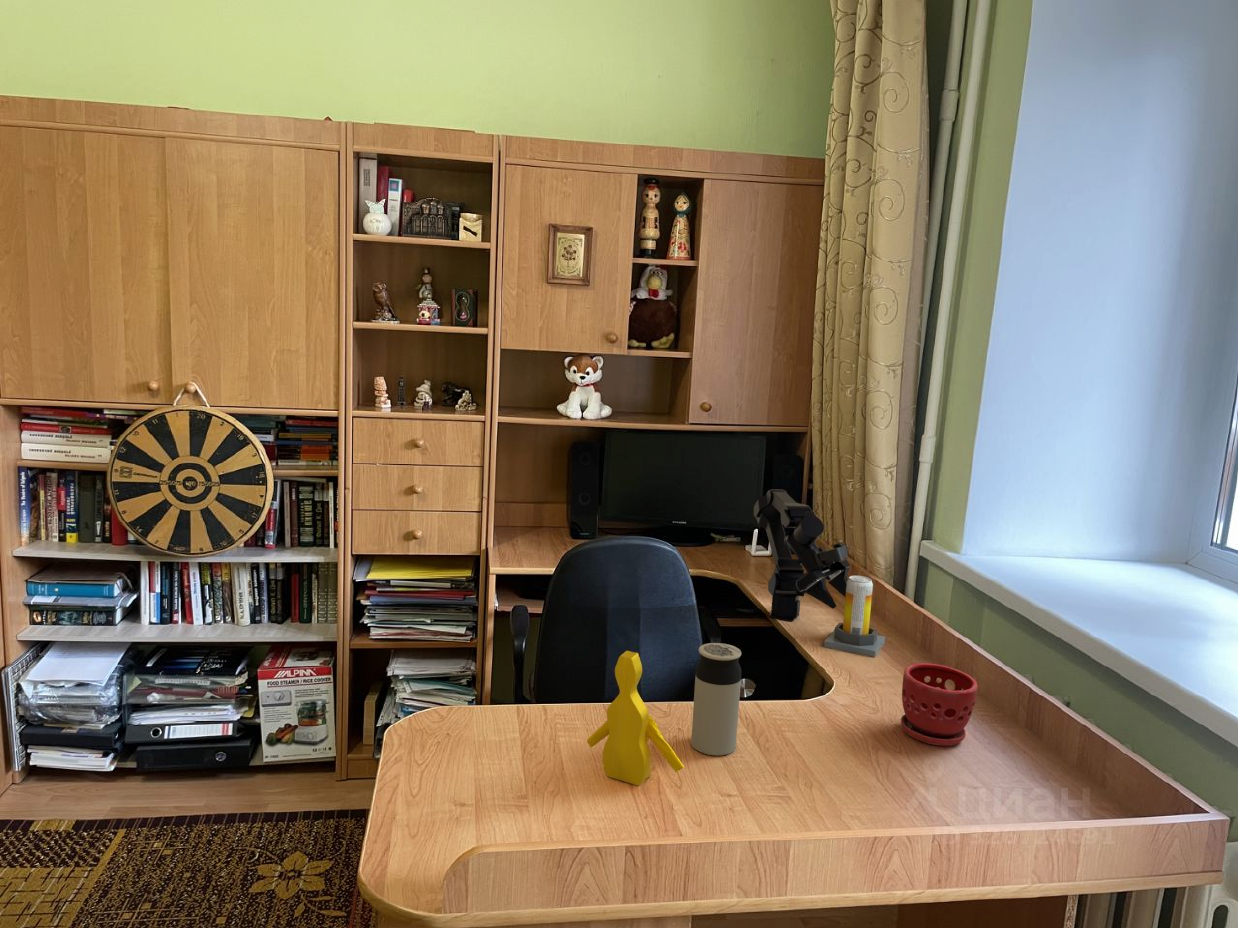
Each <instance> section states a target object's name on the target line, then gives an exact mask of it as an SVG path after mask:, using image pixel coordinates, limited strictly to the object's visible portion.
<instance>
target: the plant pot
mask: <svg viewBox="0 0 1238 928" xmlns="http://www.w3.org/2000/svg"><path fill="white" fill-rule="evenodd" d="M926 677H930V680H928V681H926V680H925V678H926ZM937 679H940V680H941V681H940V682H938V681H937ZM948 680H950V681H952V682H953V683H954V689H953V690H950V689H949V688H947V686H946V682H947V681H948ZM901 685H902V688H901V702H902V709H903V711H904V714H903V715H902V716H901V717H900V718H901V719H900V725H901V726H902V729H903V730H904V732H906V734H907V735H909V736H910V737H911V738H913V739H916V740H918V741H919V742H922V743H927V744H929V745H933V746H935V745H936V746H942V747H943V746H946V747H947V746H953V745H957V744H959V743H961V742H962V741H964V739H965V738H966V734H967V733H966V730H965V729H966V726H967V724H968V723H969V721H970V719H971V717H972V713H973V711H974V708H975V705H976V701H977V696H978V695H977V694H978V686H979V685H978V683H977V681H976V680H975V678H974V677H972V676H971V675H969V674H968V673H966V672H964V671H961V670H959V669H957V668H953V667H950V666H947V665H942V664H935V663H927V662H922V663H921V662H920V663H914V664H910V665H909V666H907V667H905V669H904V671H903V677H902V684H901ZM962 689H963V690H962Z"/></svg>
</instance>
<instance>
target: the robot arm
mask: <svg viewBox="0 0 1238 928" xmlns="http://www.w3.org/2000/svg"><path fill="white" fill-rule="evenodd" d="M753 516H754V518H755V519H756V522H757V524H758V525H759V527H761V528H762V529H764V530H765V532H766V535H767V539H768V543H769V547H770V549H771V553H772V557H773V561H774V564H775V565H774V568H773V572H772V575H771V577H770V579H769V580H768V582H767V592H768V593H769V594H770V595H771V597H772V598H771V608H770V609H771V610H770V611H771V612H770V613H769V614H768V617H769V618H772V619H773V618H774V619H778V620H782V621H788V622H793V621H795V620H796V619H797V618H798V617H799V616H800V609H801V600H800V599H799V597H804V596H805V594H807V595H809V596H811V597H812V598H814V599H816V600H817V601H819V602H821V603H823V604H824V605H826V606H828V607H829V608H831V609H832V610H833V609H836V607H837V604H836V602H835V600H834V598H833V596H832V595H831V593H830V592H829V589H828V587H827V583H828V584H829V585H830V586H831V587H833V588H834V589H835V590H836V591H837V592H838V593H839V594H841V596H842V597H844V598H845V597H846V585H847V580H848V574H849V571H850V567H851V564H850V563H849V561H848V558H849V556H848V552H849V551H850V549H849V548H848V547H847V545H846V544H844V543H843V542H842V541H841V542H837V543H835V544H833V548H830V549H827V550H826V549H825V548H824V547H823V546H818V545H817V543H816V541H817V540H818V539H819V537H820V536H821V535H822V534H823V532H824V529H825V525H824V523H823V521H822V520H821V518H819V517H817V516H816V514H815V512H814V511H813V510H812V508H811V506H810V505H808V504H804V503H803V504H802V503H798V502H796V501H795V499H793V497H791V496H790V495H789V494H788V491H787V490H785V489H773V488H772V489H769V490H767V492H766V494H763V495H762V496H761V497H759V498H757V500H756V502H755V504H754V507H753ZM785 528H787V529H789V528H790V529H791V528H792V530H789V531H788V532H787V533H786V532H785ZM791 551H792V552H793V553H794V555H795V556H796V558H793V556H792V552H791ZM805 570H806V572H804V571H805ZM827 580H828V582H827Z"/></svg>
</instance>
